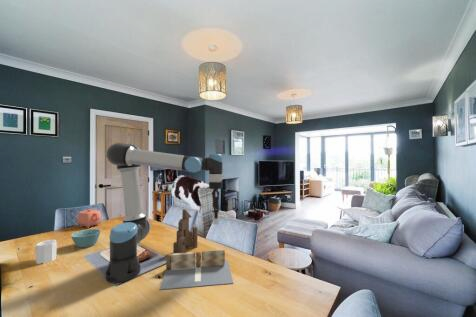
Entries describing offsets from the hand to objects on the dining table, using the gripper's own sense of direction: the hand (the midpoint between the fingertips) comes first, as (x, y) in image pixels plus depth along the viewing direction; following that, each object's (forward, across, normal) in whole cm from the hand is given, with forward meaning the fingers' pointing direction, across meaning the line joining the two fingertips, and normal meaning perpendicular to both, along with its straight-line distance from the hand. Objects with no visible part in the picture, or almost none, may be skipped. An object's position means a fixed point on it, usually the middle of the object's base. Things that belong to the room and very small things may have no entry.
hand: (215, 221), depth 119 cm
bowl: (+22, +33, +82) cm, 91 cm away
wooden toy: (+22, +16, +17) cm, 32 cm away
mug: (+22, +14, +94) cm, 97 cm away
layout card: (+21, -13, +9) cm, 27 cm away
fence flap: (+21, -7, +1) cm, 22 cm away
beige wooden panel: (+21, -7, +16) cm, 28 cm away
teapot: (+22, +77, +102) cm, 130 cm away
